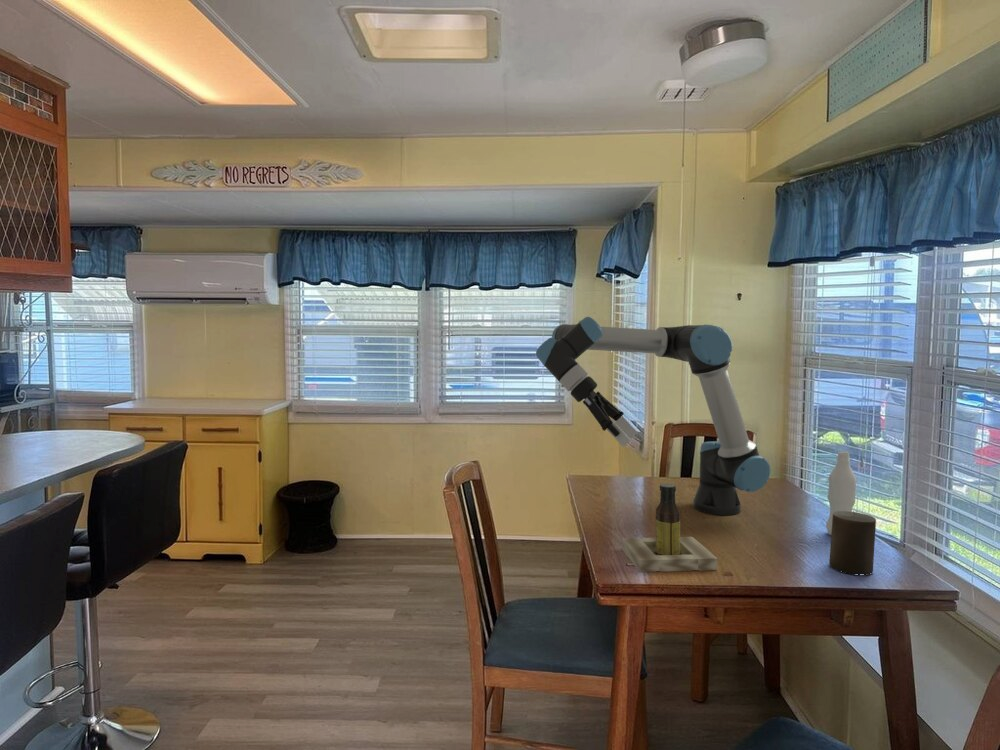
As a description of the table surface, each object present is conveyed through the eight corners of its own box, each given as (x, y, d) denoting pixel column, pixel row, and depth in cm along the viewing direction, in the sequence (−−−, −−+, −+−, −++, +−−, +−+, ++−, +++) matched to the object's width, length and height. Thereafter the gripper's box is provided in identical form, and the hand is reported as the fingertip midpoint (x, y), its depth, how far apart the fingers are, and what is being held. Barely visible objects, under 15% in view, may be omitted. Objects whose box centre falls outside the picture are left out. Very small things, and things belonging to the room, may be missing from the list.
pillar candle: (857, 578, 149) (861, 518, 148) (820, 564, 157) (824, 508, 156) (881, 572, 153) (885, 514, 152) (844, 559, 162) (847, 503, 161)
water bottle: (850, 533, 182) (854, 450, 180) (855, 540, 176) (860, 455, 174) (823, 530, 185) (827, 449, 183) (828, 537, 178) (832, 453, 176)
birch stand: (691, 547, 169) (692, 536, 169) (717, 570, 153) (717, 558, 153) (621, 548, 167) (621, 538, 167) (639, 571, 152) (639, 560, 151)
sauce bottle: (676, 555, 163) (678, 482, 162) (682, 564, 157) (684, 488, 156) (652, 554, 164) (654, 481, 162) (657, 563, 157) (659, 487, 156)
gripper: (579, 388, 186) (627, 440, 182) (558, 397, 163) (613, 456, 159) (597, 372, 184) (646, 424, 180) (578, 378, 161) (634, 438, 157)
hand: (631, 439), depth 169 cm, fingers open, 13 cm apart
